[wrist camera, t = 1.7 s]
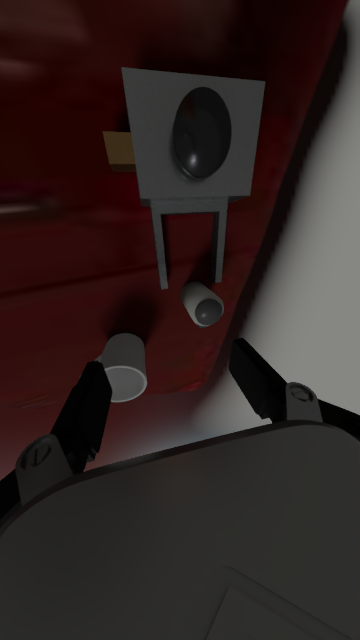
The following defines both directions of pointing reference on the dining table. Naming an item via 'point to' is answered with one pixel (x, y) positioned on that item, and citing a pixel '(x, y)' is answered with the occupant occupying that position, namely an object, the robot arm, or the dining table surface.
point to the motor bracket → (188, 148)
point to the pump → (201, 304)
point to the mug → (124, 366)
